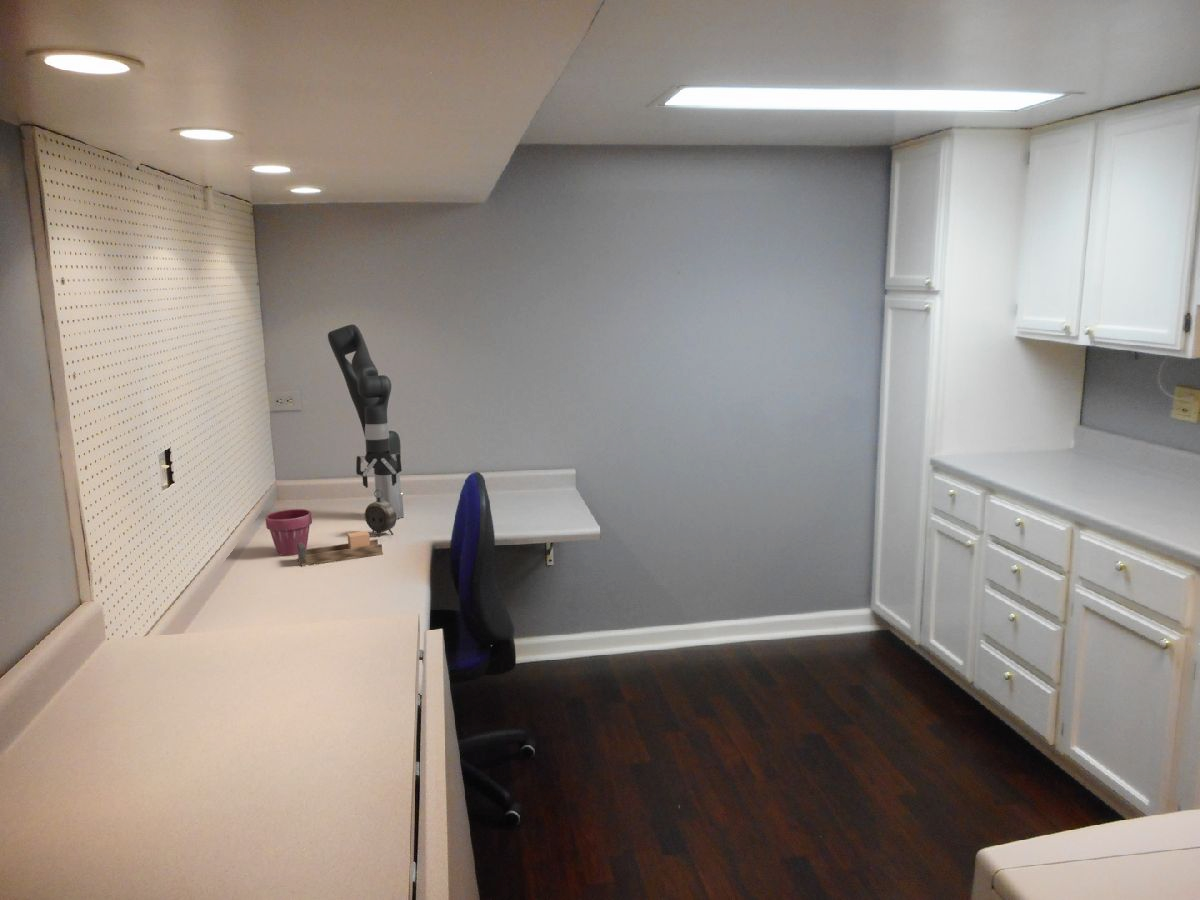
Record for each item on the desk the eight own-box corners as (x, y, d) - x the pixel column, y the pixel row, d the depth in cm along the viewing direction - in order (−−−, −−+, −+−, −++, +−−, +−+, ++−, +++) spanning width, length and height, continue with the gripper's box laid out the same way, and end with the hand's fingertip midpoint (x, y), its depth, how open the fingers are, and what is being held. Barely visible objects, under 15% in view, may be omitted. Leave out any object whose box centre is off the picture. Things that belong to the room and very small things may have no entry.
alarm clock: (398, 534, 301) (395, 488, 298) (388, 538, 296) (385, 492, 293) (373, 531, 305) (370, 486, 302) (363, 535, 300) (360, 489, 297)
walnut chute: (377, 547, 285) (376, 531, 284) (383, 554, 277) (381, 538, 276) (298, 558, 274) (296, 542, 273) (302, 566, 266) (300, 549, 265)
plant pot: (259, 555, 278) (255, 517, 276) (289, 544, 291) (286, 507, 289) (294, 559, 273) (290, 520, 271) (323, 547, 286) (320, 510, 284)
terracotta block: (367, 548, 281) (366, 530, 280) (370, 552, 277) (369, 534, 276) (348, 551, 279) (347, 533, 278) (351, 555, 274) (350, 537, 273)
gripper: (398, 434, 284) (400, 482, 287) (353, 437, 279) (356, 486, 282) (400, 437, 277) (403, 486, 280) (355, 439, 272) (358, 490, 275)
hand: (379, 486), depth 281 cm, fingers open, 8 cm apart
